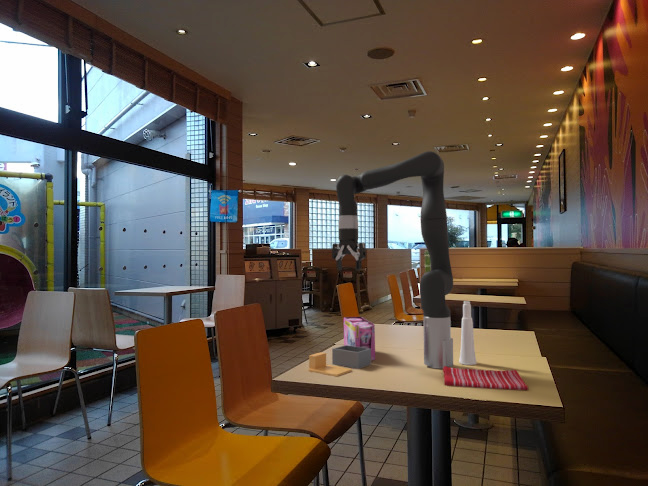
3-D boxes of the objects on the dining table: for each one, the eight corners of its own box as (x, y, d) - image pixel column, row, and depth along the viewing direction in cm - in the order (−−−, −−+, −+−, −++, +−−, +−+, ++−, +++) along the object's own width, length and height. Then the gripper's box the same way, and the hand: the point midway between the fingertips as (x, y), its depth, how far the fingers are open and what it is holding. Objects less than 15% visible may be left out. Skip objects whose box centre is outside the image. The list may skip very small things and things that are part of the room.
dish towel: (442, 373, 153) (442, 365, 153) (518, 377, 147) (518, 368, 147) (442, 387, 137) (442, 378, 137) (528, 392, 131) (528, 383, 131)
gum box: (377, 362, 166) (376, 325, 167) (355, 363, 165) (355, 325, 166) (362, 349, 190) (361, 316, 190) (343, 350, 189) (343, 316, 189)
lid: (351, 373, 152) (351, 356, 152) (336, 379, 146) (336, 361, 146) (322, 367, 160) (322, 351, 160) (306, 373, 153) (306, 356, 153)
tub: (371, 365, 161) (370, 348, 162) (358, 370, 155) (358, 352, 155) (345, 361, 168) (345, 345, 168) (332, 365, 162) (332, 348, 162)
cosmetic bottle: (478, 362, 165) (477, 301, 166) (473, 365, 160) (472, 302, 161) (462, 360, 169) (461, 300, 169) (456, 363, 164) (455, 301, 164)
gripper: (369, 227, 174) (369, 270, 174) (339, 229, 183) (339, 269, 183) (358, 226, 168) (358, 271, 168) (327, 228, 177) (328, 270, 177)
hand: (348, 270), depth 175 cm, fingers open, 8 cm apart
